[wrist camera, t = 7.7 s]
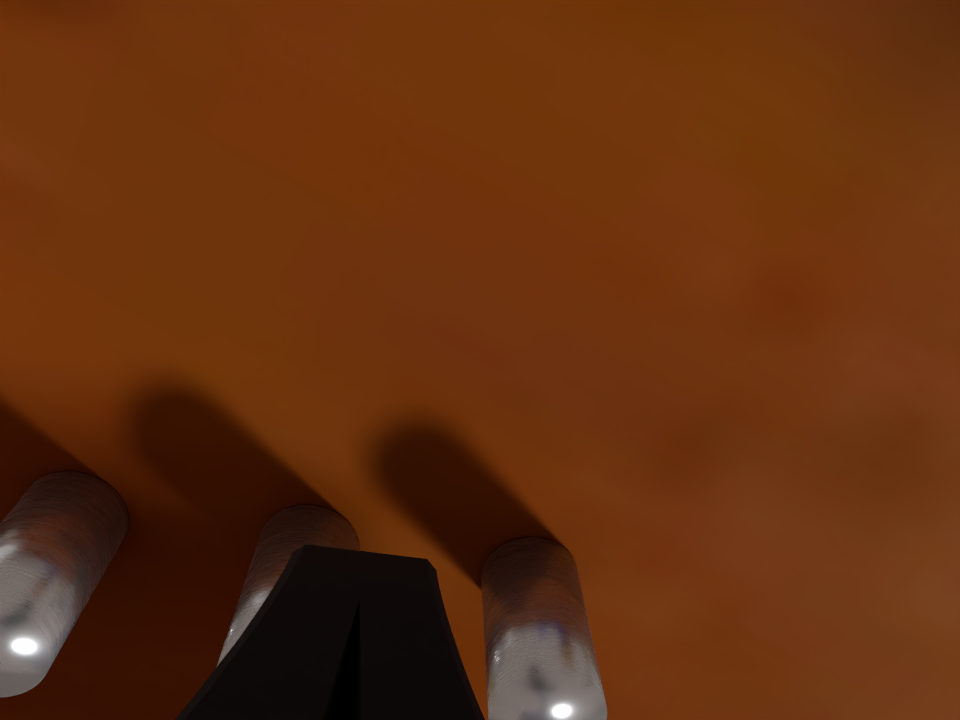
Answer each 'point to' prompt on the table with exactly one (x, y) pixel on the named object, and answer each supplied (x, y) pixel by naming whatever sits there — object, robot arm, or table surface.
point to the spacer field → (104, 523)
